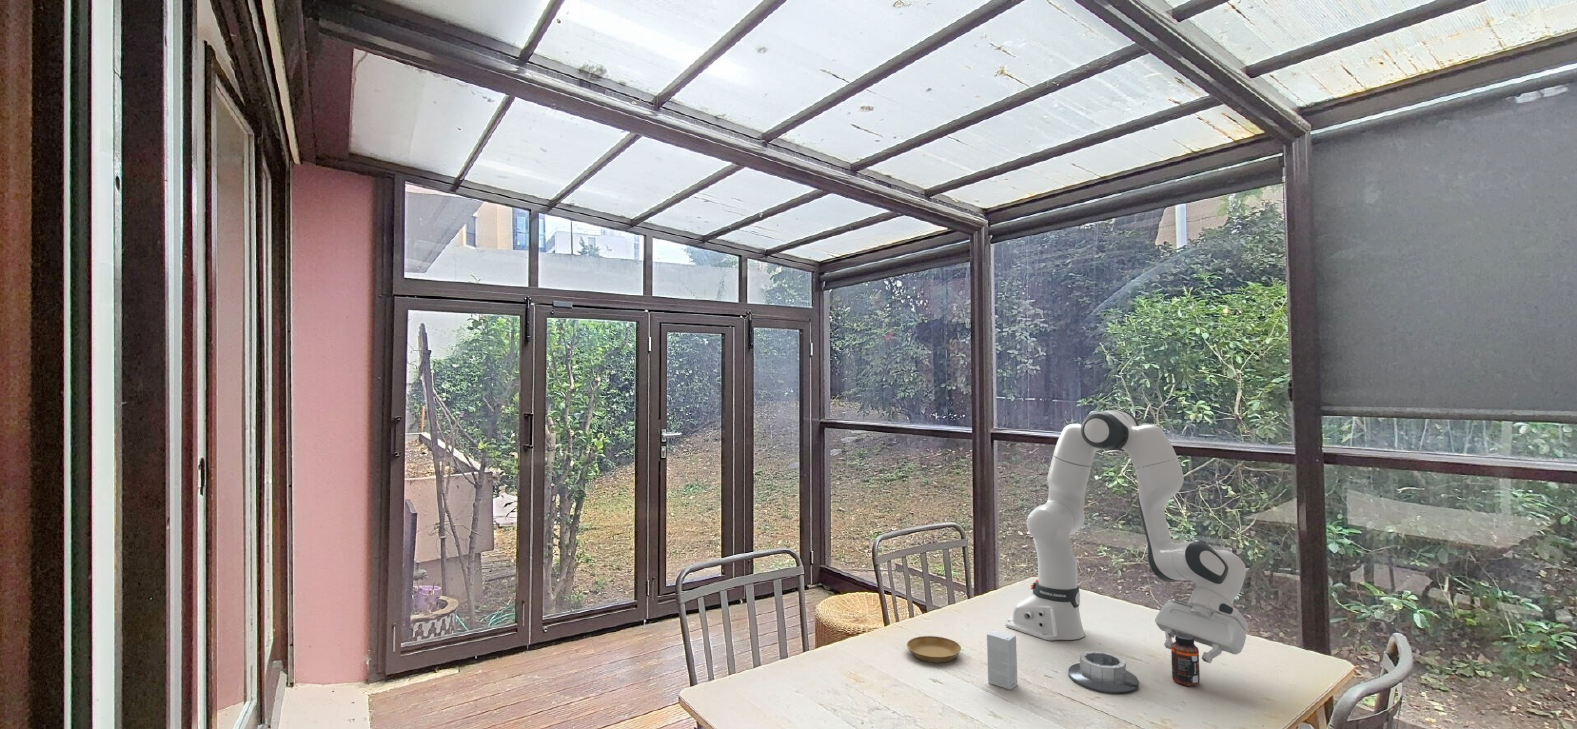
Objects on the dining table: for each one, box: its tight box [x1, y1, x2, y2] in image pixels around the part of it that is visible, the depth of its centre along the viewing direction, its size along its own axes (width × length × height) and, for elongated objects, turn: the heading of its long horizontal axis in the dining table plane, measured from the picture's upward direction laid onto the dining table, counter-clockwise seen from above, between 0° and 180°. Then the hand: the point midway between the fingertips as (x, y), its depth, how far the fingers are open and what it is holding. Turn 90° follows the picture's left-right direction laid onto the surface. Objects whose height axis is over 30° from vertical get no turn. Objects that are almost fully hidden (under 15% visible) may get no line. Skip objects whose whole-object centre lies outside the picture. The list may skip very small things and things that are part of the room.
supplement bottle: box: [1170, 634, 1201, 687], centre depth 162 cm, size 6×6×11 cm
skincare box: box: [986, 630, 1018, 690], centre depth 162 cm, size 6×4×12 cm
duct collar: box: [1067, 650, 1140, 695], centre depth 164 cm, size 16×16×5 cm
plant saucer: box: [906, 635, 962, 664], centre depth 180 cm, size 15×15×3 cm
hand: (1186, 654), depth 163 cm, fingers open, 8 cm apart
